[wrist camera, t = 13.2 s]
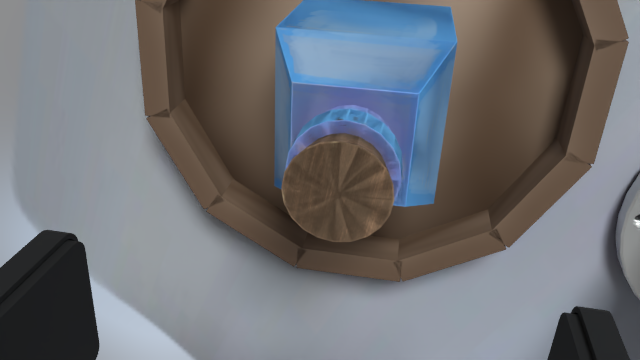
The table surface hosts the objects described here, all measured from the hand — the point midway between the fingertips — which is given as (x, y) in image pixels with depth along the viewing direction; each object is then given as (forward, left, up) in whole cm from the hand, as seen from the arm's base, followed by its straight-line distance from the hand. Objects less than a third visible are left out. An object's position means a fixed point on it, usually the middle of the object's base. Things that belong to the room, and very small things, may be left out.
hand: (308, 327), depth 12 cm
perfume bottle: (0, 0, -18) cm, 18 cm away
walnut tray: (0, 0, -19) cm, 19 cm away
